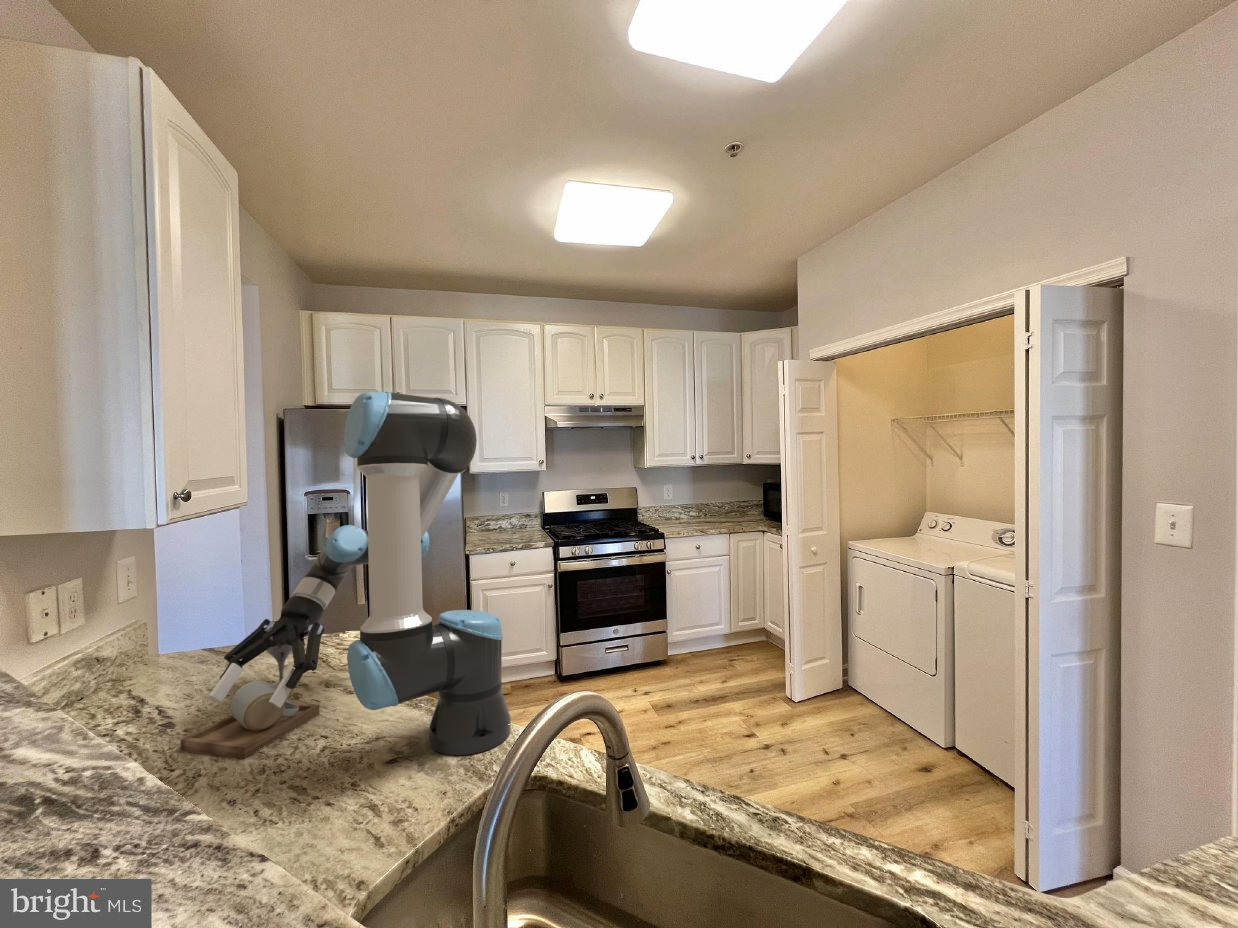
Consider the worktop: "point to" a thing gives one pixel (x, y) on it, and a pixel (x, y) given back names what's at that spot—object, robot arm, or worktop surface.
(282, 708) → the ceramic mug
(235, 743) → the walnut tray
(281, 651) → the wine glass
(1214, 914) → the worktop surface
